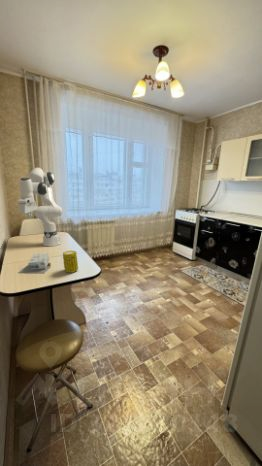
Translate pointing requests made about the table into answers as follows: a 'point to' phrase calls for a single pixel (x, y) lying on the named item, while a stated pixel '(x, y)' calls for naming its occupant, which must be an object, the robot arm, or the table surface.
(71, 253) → the food
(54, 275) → the table surface
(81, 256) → the table surface
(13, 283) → the table surface
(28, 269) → the mat
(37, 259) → the light bulb box
